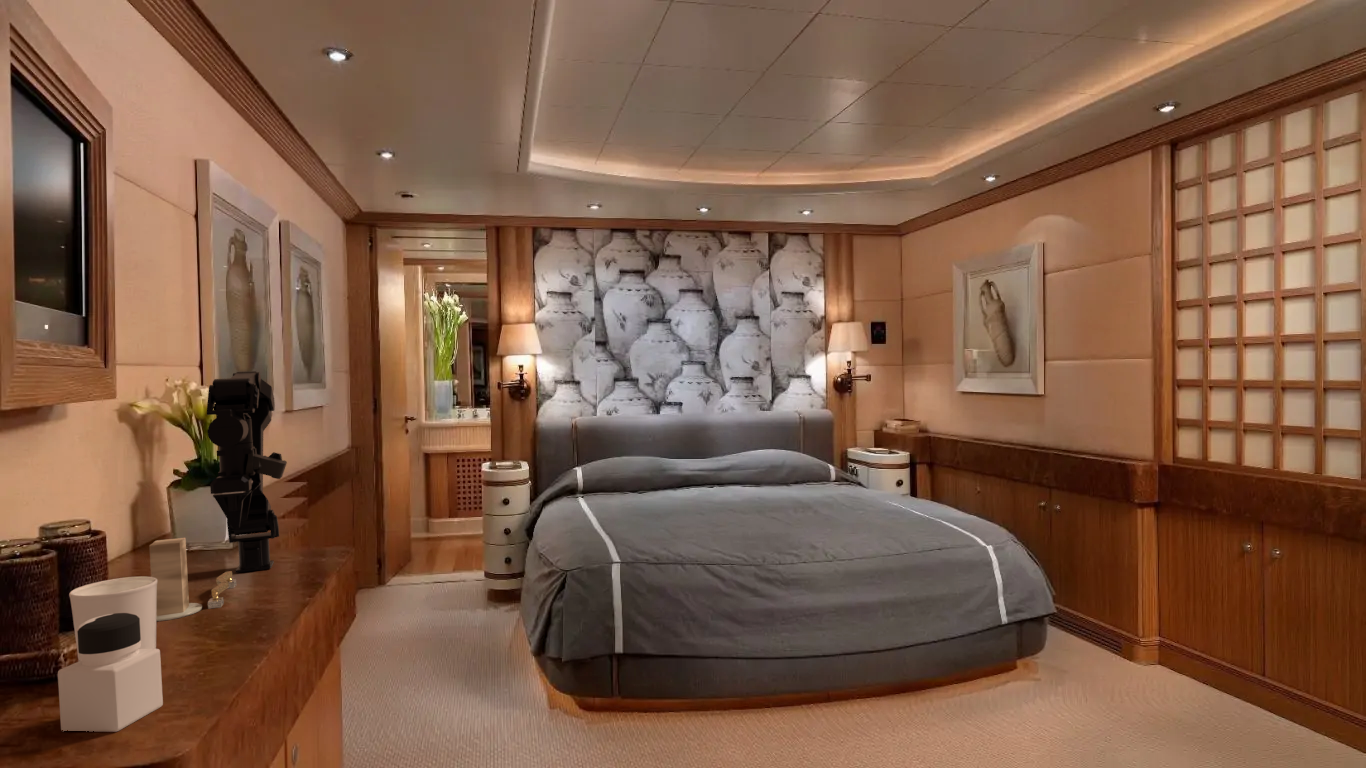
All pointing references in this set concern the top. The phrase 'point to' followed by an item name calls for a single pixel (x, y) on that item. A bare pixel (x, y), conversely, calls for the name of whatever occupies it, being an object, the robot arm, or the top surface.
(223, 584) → the zigzag wooden handle
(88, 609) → the candle holder
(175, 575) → the maple peg
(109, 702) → the medicine bottle
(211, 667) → the top surface
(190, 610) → the coaster
